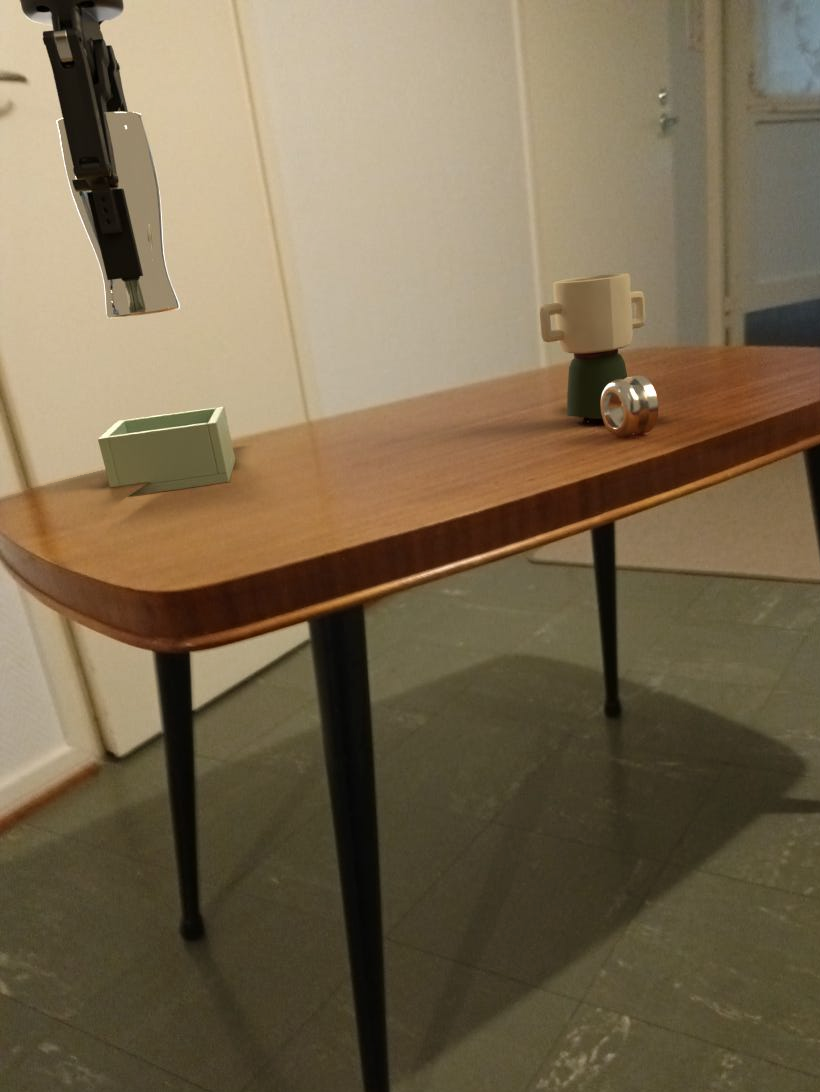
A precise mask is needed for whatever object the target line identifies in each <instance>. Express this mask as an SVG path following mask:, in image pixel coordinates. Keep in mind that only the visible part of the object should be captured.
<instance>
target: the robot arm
mask: <svg viewBox="0 0 820 1092" xmlns="http://www.w3.org/2000/svg"><path fill="white" fill-rule="evenodd" d="M19 4H20V8H21V11H22V13H23V15H24V16H25V17H26V18H27V19H29V20H30V21H31V22H34V23H36V24H37V23H38V24H42V25H47V26H52V30H43V31H42V42H43V45H44V46H45V49H46V53H47V56H48V58H49V60H48V61H49V63H50V67H51V70H52V74H53V80H54V84H55V88H56V93H57V97H58V102H59V105H60V106H59V107H60V112H61V116H62V118H63V121H64V126H65V130H66V135H67V140H68V144H69V149H70V153H71V158H72V163H73V167H74V168H73V171H74V174H75V176H76V178H77V180H72V182H73V186H74V188H75V190H76V192H81V191H90V190H91V191H92V192H87V196H88V200H89V204H90V208H91V213H92V217H93V221H94V225H95V229H96V233H97V238H98V242H99V246H100V250H101V254H102V258H103V263H104V267H105V271H106V275H107V279H108V280H113V279H122V278H130V277H138V276H143V272H142V268H141V264H140V259H139V255H138V250H137V246H136V242H135V237H134V233H133V228H132V224H131V220H130V215H129V211H128V206H127V202H126V197H125V193H124V189H113V188H116V187H118V182H119V179H118V176H117V172H116V165H115V159H114V152H113V146H112V142H111V137H110V132H109V127H108V123H107V118H106V114H105V112H129V111H128V110H129V109H128V106H127V102H126V96H125V94H124V87H123V83H122V77H121V72H120V70H121V67H120V63H119V62H118V60H117V58H116V54H115V52H114V49H113V46H112V45H110V44H109V45H107V43H106V41H105V39H104V36H103V32H102V30H101V24H102V23H104V22H105V21H112V20H114V19H117V18H118V17H119V16H121V14H123V11H124V7H125V6H124V5H125V3H124V0H19Z"/></svg>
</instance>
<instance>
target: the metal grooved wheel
mask: <svg viewBox="0 0 820 1092" xmlns="http://www.w3.org/2000/svg"><path fill="white" fill-rule="evenodd" d="M600 407H601V415H602V418H601V419H602V421H603V424H604V426H605V427H606V429H607V431H609V433H610V434H611V435H612V436H615V437H616V438H620V437H625V438H628V437H631V436H632V435H634V434H638V435H642V434H647V433H649V432H651V431H652V430H653V429H654V427H655V426H656V424H657V422H658V417H659V400H658V396H657V392H656V390H655V387H654V386H653V384H652V383H651V381H650V380H649V379H648V378H647V377H645V376H643V375H641V374H637V375H632V376H627V378H625V379H624V380H623V379H616V380H613V381H611V382H609V383H608V384H607V385H606V386H605V388H604V390H603V392H602V395H601V402H600ZM633 433H634V434H633Z"/></svg>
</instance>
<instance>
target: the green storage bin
mask: <svg viewBox="0 0 820 1092" xmlns="http://www.w3.org/2000/svg"><path fill="white" fill-rule="evenodd" d="M228 422H229V421H228V418H227V413H226V409H225V406H216V407H210V408H209V407H208V408H202V409H195V410H187V411H180V412H173V413H166V414H165V413H164V414H159V415H158V414H157V415H151V416H144V417H136V418H130V419H121V420H117V421H116V422H115V423H114V424H113V425H111V427H110V428H108V429H107V430H106V431H105V432H104V433H103V434H102V435H100V436H99V437H98V438H97V442H98V445H99V449H100V454H101V457H102V461H103V464H104V468H105V472H106V477H107V480H108V484H109V487H110V488H114V487H122V486H128V485H135V484H142V483H146V484H144V485H143V486H141V487H140V488H138V489H136V490H135V491H134V492H132V493H131V494H129V495H127V498H130V497H136V496H137V497H138V496H143V495H150V494H157V493H162V492H170V491H177V490H183V489H191V488H198V487H203V486H211V485H218V484H226V483H229V482H230V481H231V476H232V473H233V469H234V467H235V464H236V456H235V451H234V447H233V446H234V445H233V441H232V437H231V432H230V427H229V423H228Z"/></svg>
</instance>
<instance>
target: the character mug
mask: <svg viewBox="0 0 820 1092" xmlns="http://www.w3.org/2000/svg"><path fill="white" fill-rule="evenodd" d="M552 286H553V287H552V292H553V303H547V304H544V305H542V306H541V307H540V309H539V322H540V333H541V338H542V341H543V342H546V343H553V342H557V345H558V347H559V349H560V350H561V351H563V352H566V353H568V354H573V358H572V360H570V364H569V367H568V377H567V378H568V379H567V395H566V416H567V417H574V418H575V417H576V418H583V421H584V422H585V423H588V422H587V421H589V422H590V421H591V419H603V418H602V415H601V407H600V402H601V395H602V392H603V390H604V388H605V386H606V385H607V384H608V383H609V382H611V381H613V380H616V379H623V380H624V379H625V378H627V377H628V373H627V367H626V361H625V360H624V358H623V357H622V354H620V353H619V350H620V349H624V348H626V347H628V346H631V344H632V341H633V336H634V330H635V329H640V328H642V327H643V326H645V323H646V320H647V317H646V316H647V315H646V297H645V295H644V292H643V291H640V290H636V291H635V290H634V291H632V289H631V275H630V273H623V272H622V273H621V272H620V273H611V274H598V275H587V276H586V275H585V276H580V277H579V276H578V277H573V278H565V279H561V280H557V281H554V282H553V285H552ZM632 303H633V304H634V314H635V317H633V309H632V308H633V307H632ZM551 316H554V321H555V323H554V324H555V329H553V330H552V324H551Z"/></svg>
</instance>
